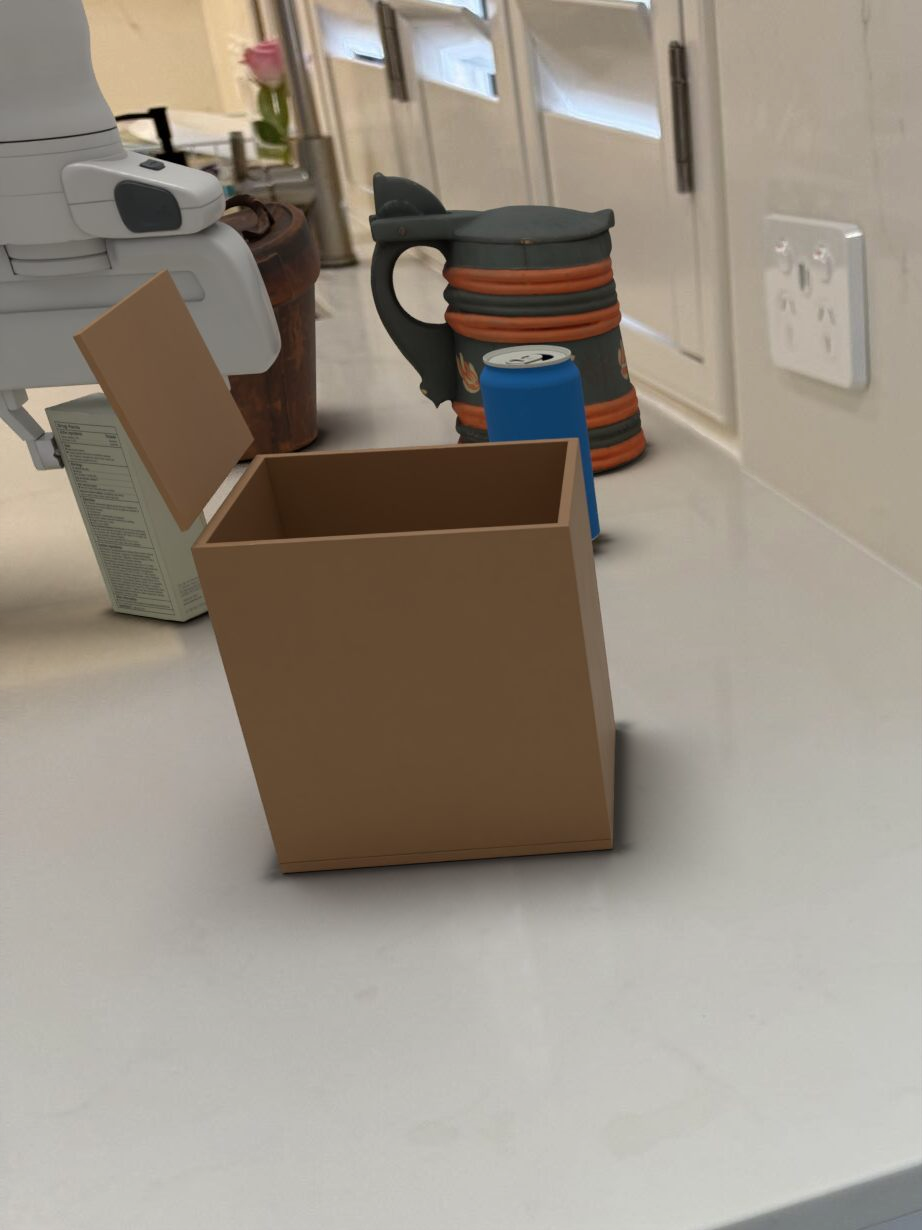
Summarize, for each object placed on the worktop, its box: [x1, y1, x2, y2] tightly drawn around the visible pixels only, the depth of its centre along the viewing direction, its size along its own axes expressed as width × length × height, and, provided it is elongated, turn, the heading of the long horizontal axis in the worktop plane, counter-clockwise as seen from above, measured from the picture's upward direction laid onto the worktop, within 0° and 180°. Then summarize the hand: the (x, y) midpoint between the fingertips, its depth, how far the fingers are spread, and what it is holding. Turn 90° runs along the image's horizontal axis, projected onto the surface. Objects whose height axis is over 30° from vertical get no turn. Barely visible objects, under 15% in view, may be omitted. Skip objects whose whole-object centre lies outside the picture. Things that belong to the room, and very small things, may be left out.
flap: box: [73, 269, 254, 532], centre depth 65 cm, size 7×14×1 cm
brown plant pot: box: [217, 193, 321, 461], centre depth 127 cm, size 18×20×18 cm
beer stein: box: [368, 171, 647, 474], centre depth 120 cm, size 19×15×20 cm
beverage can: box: [480, 345, 601, 541], centre depth 105 cm, size 6×6×12 cm
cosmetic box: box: [44, 392, 208, 623], centre depth 97 cm, size 6×4×12 cm
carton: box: [191, 438, 617, 874], centre depth 73 cm, size 15×14×14 cm
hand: (133, 462), depth 95 cm, fingers open, 8 cm apart
